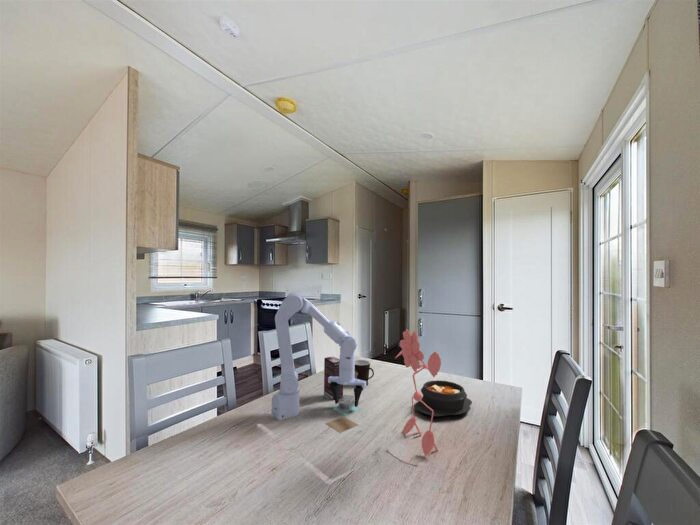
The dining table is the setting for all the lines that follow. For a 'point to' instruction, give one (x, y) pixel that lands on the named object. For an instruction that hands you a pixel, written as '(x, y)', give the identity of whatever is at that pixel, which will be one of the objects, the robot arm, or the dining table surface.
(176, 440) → the dining table surface
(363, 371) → the coffee mug
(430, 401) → the casserole
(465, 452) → the dining table surface
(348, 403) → the box
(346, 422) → the stand
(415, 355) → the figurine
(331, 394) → the supplement box
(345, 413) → the stand
